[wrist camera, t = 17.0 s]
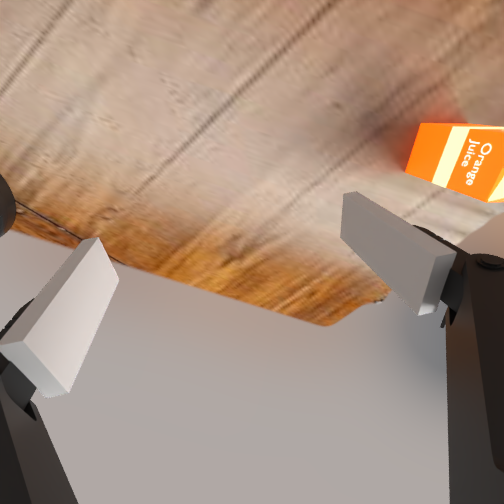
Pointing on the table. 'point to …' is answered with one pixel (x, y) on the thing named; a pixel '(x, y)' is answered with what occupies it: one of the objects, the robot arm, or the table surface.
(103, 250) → the robot arm
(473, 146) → the orange juice
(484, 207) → the table surface
